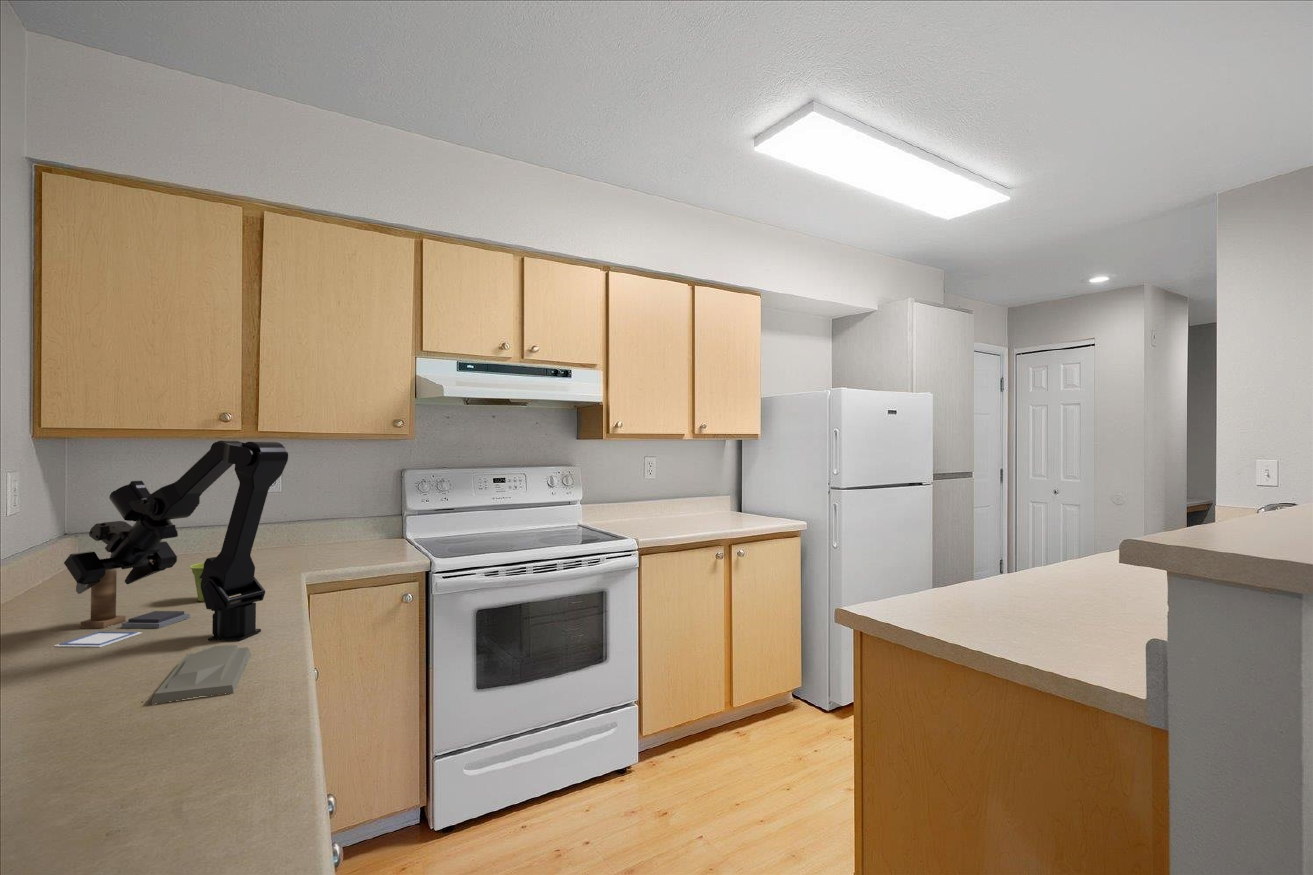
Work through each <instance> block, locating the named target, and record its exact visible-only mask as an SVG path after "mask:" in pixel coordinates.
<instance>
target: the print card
mask: <svg viewBox="0 0 1313 875" xmlns="http://www.w3.org/2000/svg"><path fill="white" fill-rule="evenodd" d="M140 634H143V632H141V631H97V632H94V633H93V632H92V633H91V634H87V635H84V636H81V637H77V638H74V639H71V640H67V641H64V642H61V643H58V644H55V645H53V647H55V648H56V647H57V648H61V647H62V648H101V647H105V646H108V645H110V644H111V645H112V644H114V643H117V642H120V641H122V640H126V639H128V638H132V637H134V636H137V635H140Z"/></svg>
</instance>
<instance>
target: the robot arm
mask: <svg viewBox="0 0 1313 875" xmlns="http://www.w3.org/2000/svg"><path fill="white" fill-rule="evenodd" d="M288 460H289V453H288V451H287V450H286V447H285V446H284V445H283V444H282V443H281V442H278V441H246V442H242V441H238V440H217V441H215V442H213V443H212V445H211V446H210V449H209V450H208V451H207V452H206V453H204V454H203V456H202V457H201V458H199V459H198V460H197V461H196V462H195V463H194V464H193V465H192V466H191V467H190V468H189V469H188V470H187V471H186V472H185V473H184V474H183V475H182V476H180V477H179V478H178V480H175V481H174V482H172V483H170V484H167V485H165V486H161V487H160V488H158V489H156V490H155V491H153V492H152V493H151V492H150V491H149V489H147V486H146V484H145V482H144V481H143V480H132V481H131V480H130V483H129V484H125V485H123V486H121V487H119V488H117V489H116V490H113V491H112V492H111V493H110V494H109V497H108V498H109V500H110V502H111V503H112V504H113V506H114V507H115V509H116V510H117V511H118V513H119V514H120V516H121V517H122V519H123V520H124V521H123V520H115V521H114V520H113V521H107V522H105V521H104V522H102V523H99V522H98V523H95V524H94V525H92V527H91V528H90V530H89V532H88V535H89V538H91V539H93V540H94V541H95V542H100V541H101V542H103V543H104V544H106V546H105V547H104V549H105V551H106V552H107V553H110V555H109V557H107V558H102V559H101V558H100V557H99V556H98V555H97V553H96V552H95V551H82V552H76V553H70V554H69V555H68V557H67V558H65V560H64V562H63V564H64V566H65V568H67V570H68V572H69V573H70V575H71V576H72V578H73V579H74V580H75V582H76V586H75V591H76V593H77V595H80V594H82V593H84V592H86V591H87V590H90V589H91V587H92V586H94V585H96V584H97V583H99V582H100V579H101V578H103V577H104V575H105V571H106V570H112V569H117V570H118V569H121V570H127V569H131V570H130V571H129V573H128V574H127V576H126V577H125V579H124V583H125V584H126V585H130V584H133V583H135V582H137V581H140V580H142V579H144V578H147V577H149V576H151V575H154V574H157V573H159V572H162V571H165V570H166V569H169V568H173V567H174V566H175V564H176V563H177V561H178V555H177V554H176V552H175V551H174V550H173V548H172V546H170V545H169V543H168V542H167V541H165V539H172V538H177V537H178V536H179V533H178V530H177V528H176V524H174V523H173V522H172V521H171V520H176V519H178V520H179V519H185V518H188V517H190V516H191V515H192V514H193V513H194V511H195V510H196V509H197V507H198V506H199V505H200V503H201V501H200V500H201V495H202V494H203V493H204V492H206V490H207V489H208V488H210V487H211V485H213V484H214V483H215V482H216V481H217V480H218V479H219V478H220V477H221V476H222V475H224V473H225V472H227V471H228V470H229V469H230V468H231V467H232V466H233V465H234V471H235V472H234V473H235V475H236V477H237V479H238V482H239V486H238V490H237V492H236V496H235V501H234V504H233V508H232V510H231V515H230V516H229V517H230V518H229V522H228V524H227V525H228V526H227V528H226V531H225V532H226V533H225V536H224V540H223V543H222V547H221V550H220V552H219V553H218V554H217V556H213V557H207V558H206V559H205V561H204V562H203V563H204V568H203V572H202V574H201V576H200V577H199V578H200V579H201V578H202V580H201V591H202V594H203V598H204V601H203V602H204V604H205V608H206V610H211V612H214V613H213V614H212V621H211V622H212V631H211V632H212V636H209V637H207V640H208V641H231V642H232V641H233V642H234V641H242V640H244V639H246V638H248V637H250V636H254V635H256V634H258V633H260V632H262V629H261V628H257V627H256V626H257V623H256V622H257V621H256V620H257V614H256V613H257V602H259V601H260V602H262V601H263V600H264V598H265V595H266V590H265V588H264V587H263V585H261V583H260V581H258V580H257V578H256V577H255V571H256V566H255V564H254V561H253V558H252V556H251V554H252V549H253V546H254V543H255V539H256V536H257V532H258V528H259V525H260V523H261V522H260V521H261V517H262V514H263V511H264V507H265V504H266V500H267V496H268V494H269V489H271V488H270V487H272V486H273V484H274V483H276V481H277V480H279V478H280V477H281V476H282V474H283V472H284V471H285V467H286V466H287V464H288ZM126 521H127V522H126ZM131 521H132V522H135V523H134V524H133V525H131V524H129V523H128V522H131ZM163 540H164V541H163Z"/></svg>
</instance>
